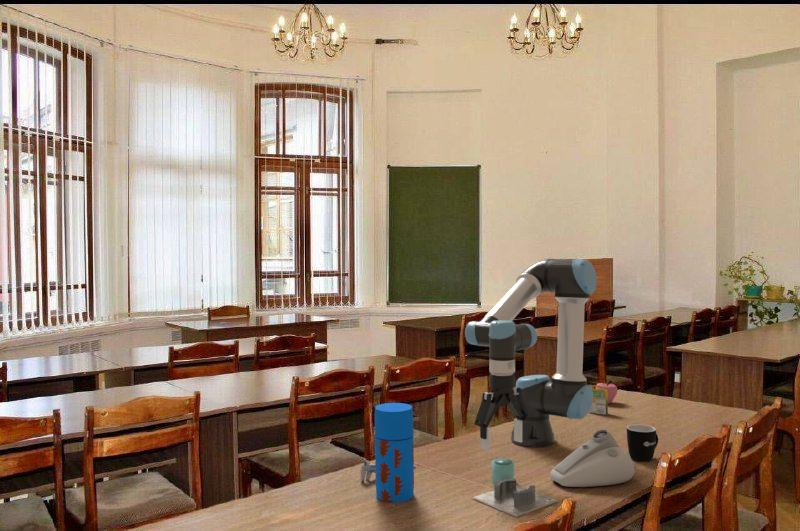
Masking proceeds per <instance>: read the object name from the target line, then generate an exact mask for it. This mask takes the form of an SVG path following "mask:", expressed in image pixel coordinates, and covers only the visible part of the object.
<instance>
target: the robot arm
mask: <svg viewBox="0 0 800 531" xmlns="http://www.w3.org/2000/svg"><path fill="white" fill-rule="evenodd" d="M597 281H598V278H597V272H596V269H595V267H594V265H593V263H591V261H589V260H587V259H581V258H547V259H542V260H539V261H537V262H535V263H534V264H532V265H529V267H527V268H526V269H524V270H523V271H522V272H521V273H520V274H519V275H517V278H516V280H515V284H514V285H512V287H510V289H509V290H508V291H507V292H506V293H505V294H504V295H503V296H502V297H501V298H500V300H498V301H497V302H496V304H494V306H493V307H491V309H490V310H489V311H488V312H487V313H486V314H485V315H484V317H482V318H481V320H479V321H478V320H472V321H469V322H468V323H467V324H466V327H465V329H464V336H465V341H466V342H467V343H468V344H470V345H474V346H478V347H488V348H489V362H488V363H489V364H488V365H489V368H488V370H489V375H488V376H489V377H488V378H489V382H488V383H489V384H488V385H489V387H490V389H491V391H490V392H487V391H483V393H482V400H481V402H480V406H479V409H478V411H477V414H476V416H475V417H476V418H475V420H474V425H475V426H477V427H479V437H480V439H481V442H480V443H481V450H484V451H487V452H490V451H491V428H490V427H489V425H490V423H491V421H492V420H493V418H494V416H495V415H496V412H497V410H499V409H500V407H504V406H507V407H508V408H509V410H510V411H511V412H512V414H513V415H514V417H515V418H513V428H512V431H511V433H510V434H511V435H510V437H511V438H510V440H511V442H512V443H513V444H516V445H517V446H524V447H530V448H542V447H543V448H544V447H548V446H552V445H553V444H554V443H555V437H556V436H555V433H554V432H553V427H552V424H551V421H550V420H551V419H550V416H556V417H561V418H566V419H569V420H573V419H574V420H582V419H584V418H585V417H586V416H588V414H589V413H588V412H589V411H590V408H591V406H592V401H593V392H592V388H591V387H590V386H588V385H589V384H588V382H587V377H586V376H585V375H584V373H583V368H584V367H583V364H584V335H585V304H586V303H587V302H588V301H589V300H590V295H591V294H593V293H595V291H596V290H597V289H596V288H597V284H598V282H597ZM543 293H554V299H555V300H556V301H557V302H558V321H557V346H556V348H557V349H556V351H557V353H556V371H555V373H554V374H553V375H552V376H551V378H550V376H549V375H546V374H532V375H530V374H529V375H524V376H521V377H519V378H518V379H516V374H515V373H516V351H522V350H527V349H529V348H531V347H533V346H534V345H536V343H537V340H538V332H537V330H536V328H535V327H534V326H533V325H531V324H529V323H520V324H516V323H515V321H513V320H515V318H516V317H517V316H518V315H519V314H520V313H521V311H523V309H524V308H525V307H526V306H527V304H528V303H530V301H531V300H532V299H534V298H537V297H538V296H540V295H541V294H543ZM550 379H551V380H550Z"/></svg>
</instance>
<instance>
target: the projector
mask: <svg viewBox="0 0 800 531" xmlns="http://www.w3.org/2000/svg"><path fill="white" fill-rule="evenodd" d="M634 474H635V465H634V462H633V460H632V459H631V457H630V454H629V453H627V452H626V451H625V450H624V449H623V448H621V447H620V446H619V444H618V442H617V441H616V438H614V436H613V435H612V434H611V433H610V431H608V430H607V429H598V430H597V431H595V432H594V433H593V434H592V438H589V440H588V441H586V442H585V443H583V444H582V445H580V446H579V447H577V448H576V449H575V450H574V451H572V452H571V453H570V454H568V455H567V456H566V457H565V458H564V459H563V460H562V461H561V462H559V463H558V464H556V466H555V467H553V468H552V470H551V471H550V478H551V479H552V480H553V481H554V482H556V483H558V484H559V485H561V486H562V487H567V488H568V487H569V488H587V487H588V488H589V487H590V488H591V487H592V488H593V487H603V486H612V485H617V484H618V485H619V484H622V483H623V484H624V483H626V482H628V481H630V480H631V479H632V478H633V476H634Z"/></svg>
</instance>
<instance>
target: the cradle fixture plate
mask: <svg viewBox="0 0 800 531" xmlns="http://www.w3.org/2000/svg"><path fill="white" fill-rule="evenodd" d="M493 485H494V487H493V490H490V491H487V492H483V493H481V494H478V495H475V496H473V497H472V499H473V500H474V501H476V502H480V503H482V504H484V505H486V506H489V507H491V508H494V509H496V510H498V511H501V512H503V513H505V514H508V515H511V516H513V517H515V518H518V517H521V516H523V515H526V514H529V513H531V512H534V511H536V510H539V509H542V508H545V507H547V506H550V505H553V504H555V503H557V502H558V499H555V498H554V497H551V496H548V495H545V494H543V493H539V492H537V491H536V485H531V484H530V485H529V487H528V488H526V487H523V486H520V485H517V479H516V478H514V479H503V480H499V481H497V482H496V483H495V484H493Z"/></svg>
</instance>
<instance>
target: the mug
mask: <svg viewBox="0 0 800 531" xmlns="http://www.w3.org/2000/svg"><path fill="white" fill-rule="evenodd" d="M626 439H627V442H626V443H627V448H628V455H629V457H630V458H631V460H632V461H635V462H639V463H640V462H641V463H648V462H651V461H652V460H653V458H654V454H655V451H656V450H655V449H656V448H657V446H658V443H659V436H658V433H657V428H655V427H654V426H652V425H648V424H637V423H635V424H628V425H627V426H626Z"/></svg>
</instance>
